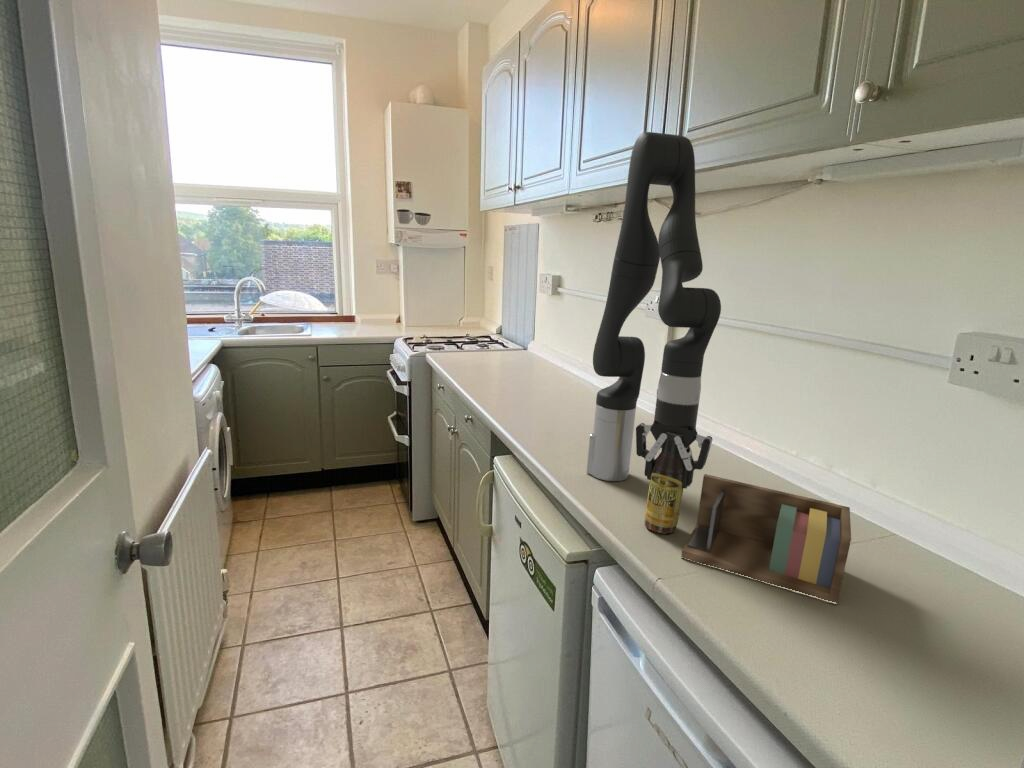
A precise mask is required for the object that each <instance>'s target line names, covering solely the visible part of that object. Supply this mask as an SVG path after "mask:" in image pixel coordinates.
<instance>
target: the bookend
mask: <svg viewBox="0 0 1024 768" xmlns="http://www.w3.org/2000/svg"><path fill="white" fill-rule="evenodd" d="M724 496H725V490H721V492H720V494H719V496H718V498H717V500H716V502H715V504H714V506H713V509H712V515H711V522H710V528H707V527H703V526H698V527H697V529H696V531H695V533H694V535H693V537H692V539H691V540H690V542H689V544H688V547H691V548H694V549H698V550H701V551H705V552H708V553H710V551H711V549H712V546H713V544H714V542H715V540H716V538H717V535H718V533H719V528H720V522H721V515H722V509H723V502H724Z"/></svg>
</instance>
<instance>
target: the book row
mask: <svg viewBox="0 0 1024 768" xmlns="http://www.w3.org/2000/svg"><path fill="white" fill-rule="evenodd" d="M796 510H797V507H792V506H788V505H784V504H782V506H781V510H780V514H779V518H778V522H777V527H776V533H775V539H774V544H773V550H772V555H771V561H770V566H769V571H773V572H776V573H780V574H783V575H786V576H790V577H793V578H797V579H800V580H804V581H807V582H810V583H814V584H817V585H821V586H824V587H827V588H830V586H831V581H832V577H833V572H834V567H835V562H836V557H837V553H838V548H839V543H840V519H835V518H831V517H827V512H825V511H821V510H817V509H812V508H810V512H809V514H805V513H801V512H797V511H796Z"/></svg>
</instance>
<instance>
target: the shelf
mask: <svg viewBox="0 0 1024 768" xmlns="http://www.w3.org/2000/svg"><path fill="white" fill-rule="evenodd" d="M721 490H725V496H724V502H723V509H722V515H721V522H720V528H719V533H718V535H717V538H716V540H715V542H714V544H713V546H712V549H711V551H710V553H708V552H705V551H701V550H698V549H694V548H691V547H688V544H689V542H690V540H691V539H692V537H693V535H694V533H695V531H696V529H697V527H698V526H703V527H707V528H710V522H711V515H712V509H713V506H714V504H715V502H716V500H717V498H718V496H719V494H720V492H721ZM700 491H701V492H700V499H699V500H700V501H699V506H698V513H697V519H696V524H695V527H694V529H693V530H692V532H691V534H690V536H689V538H688V540H687V541H686V543H685V544H684V547H683V549H682V550H681V556H680V557H683V558H686V559H690V560H692V561H695V562H699V563H702V564H706V565H710V566H714V567H717V568H721V569H724V570H728V571H730V572H734V573H738V574H741V575H744V576H748V577H751V578H753V579H757V580H760V581H764V582H767V583H770V584H774V585H777V586H781V587H785V588H788V589H792V590H795V591H799V592H802V593H805V594H808V595H812V596H816V597H818V598H821V599H824V600H828V601H832V602H836V603H837V604H838V602H839V597H840V592H841V589H842V588H841V587H842V583H843V579H844V574H845V568H846V564H847V559H848V555H849V551H850V546H851V541H852V527H851V526H852V525H851V507H849V506H846V505H841V504H837V503H833V502H832V503H831V502H827V501H825V500H820V499H815V498H811V497H806V496H803V495H798V494H794V493H789V492H785V491H780V490H777V489H776V490H775V489H772V488H768V487H761V486H759V485H753V484H750V483H745V482H741V481H736V480H734V479H728V478H723V477H719V476H715V475H711V474H707V473H705V474H704V475H703V479H702V485H701V490H700ZM782 504H784V505H788V506H792V507H797V510H796V511H797V512H801V513H805V514H809V512H810V508H812V509H817V510H821V511H825V512H827V517H831V518H835V519H840V543H839V548H838V553H837V557H836V562H835V567H834V572H833V577H832V581H831V586H830V588H827V587H824V586H821V585H817V584H814V583H810V582H807V581H804V580H800V579H797V578H793V577H790V576H786V575H783V574H780V573H776V572H773V571H769V566H770V561H771V555H772V550H773V544H774V539H775V533H776V527H777V522H778V518H779V514H780V510H781V506H782ZM692 561H691V562H692ZM695 562H694V563H695ZM702 564H701V565H702Z"/></svg>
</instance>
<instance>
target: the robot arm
mask: <svg viewBox="0 0 1024 768" xmlns="http://www.w3.org/2000/svg"><path fill="white" fill-rule="evenodd" d="M695 159H696V158H695V150H694V147H693V144H692V142H691V140H690V138H688V137H686V136H684V135H678V134H669V133H663V132H661V133H660V132H653V131H651V132H650V131H644V132H642V133H641V134H639V135H638V137H637V138H636V140H635V142H634V144H633V147H632V151H631V155H630V160H629V166H628V167H629V168H628V175H627V184H626V193H625V200H624V207H623V214H622V215H623V216H622V221H621V226H620V230H619V235H618V239H617V245H616V249H615V254H614V258H613V261H612V270H611V275H610V280H609V286H608V291H607V298H606V303H605V307H604V310H603V315H602V319H601V322H600V325H599V330H598V332H597V335H596V340H595V343H594V347H593V352H592V353H593V354H592V366H593V371H594V372H595V374H596V375H597V376H600V377H603V378H604V377H607V378H608V377H609V378H618V379H617V380H616V381H615V382H614V383H612V384H611V385H609V386H607V387H604V388H602V389H599V391H598V392H597V393H596V398H595V399H596V401H595V409H594V410H595V411H594V419H593V420H594V422H593V431H592V433H591V434H590V435H589V441H588V453H587V454H588V455H587V464H586V474H589V475H591V476H592V477H594V478H595V479H596V478H597V479H598V480H603V481H606V482H607V481H608V482H622V481H625V480H627V479H628V478H629V475H630V474H629V473H630V466H631V465H630V464H631V457H632V456H631V455H632V449H633V448H632V447H633V439H634V431H635V442H636V443H635V444H636V445H635V447H636V448H635V449H636V455H637V456H638V457H642V458H643V459H644V460H645V466H644V476H645V477H646V480H648V481H650V480H651V474H652V470H653V466H654V461H655V460H656V458H655V457H656V456H657V454H658V453H659V452H660V450H662V449H663V447H664V442H665V440H666V438H667V434H666V432H671V433H675V434H679V435H682V437H681V436H676V437H675V438H674V440H675V443H676V445H677V447H678V450H679V453H680V456H681V458H682V460H683V462H684V464H685V467H686V469H685V470H684V476H683V484H682V488H683V489H687V488H688V487H691V484H692V483H693V480H694V472H695V470H702V469H704V468H705V467H704V466H705V465H706V463H707V459H708V456H709V453H710V449H711V446H712V444H713V443H712V442H713V437H712V436H710V435H707V436H704V435H702V434H698V431H697V420H698V413H699V404H700V401H701V400H700V398H701V391H702V373H703V364H704V357H705V353H706V350H707V348H708V346H709V343H710V341H711V338H712V336H713V333H714V331H715V329H716V328H717V327H716V326H717V325H718V322H719V320H720V316H721V312H722V303H721V299H720V297H719V294H718V293H717V292H716V291H715V290H714V289H712V288H706V287H686V286H683V285H684V284H683V283H687V282H690V281H693V280H695V279H697V278H698V277H699V276H700V275H701V274H702V272H703V259H702V253H701V248H700V243H699V237H698V232H697V223H696V222H697V221H696V160H695ZM650 185H656V186H667V187H670V188H671V191H672V195H673V196H672V197H673V198H672V199H673V200H672V204H671V207H670V209H669V210H668V213H667V214H666V217H665V218H664V220H663V222H662V224H661V228H660V230H659V233H658V238H657V234H656V232H655V230H654V227H653V224H652V222H651V219H650V215H649V214H650V213H649V208H648V206H649V205H648V204H649V201H648V200H649V199H648V197H649V189H650ZM659 263H660V264H661V270H662V272H661V274H662V275H661V286H660V292H659V293H660V294H659V297H658V298H659V299H658V307H657V311H658V315H659V317H660V320H661V322H662V323H663V324H664V325H666V326H668V327H671V328H687V329H688V328H689V329H688V331H687V332H686V334H685V335H684V336H683V337H680V338H676V339H671V340H669V341H667V342H666V344H665V345H664V348H663V353H662V363H661V370H660V371H661V372H660V376H659V379H658V383H657V389H656V402H655V411H654V417H653V423H652V424H646V423H644V422H642V423H639V424H638V425H637V426H636V428H635V420H636V419H635V418H636V412H637V403H638V399H639V396H640V391H641V384H642V380H643V372H644V368H645V360H646V350H645V345H644V343H643V341H642V339H641V338H639V337H637V336H625V335H624V336H622V335H621V336H620V334H621V330H622V328H623V326H624V323H625V322H626V320H627V319H628V317H629V316H630V314H632V312H633V311H634V310H635V309H636V307H637V306H639V304H640V303H642V301H643V300H645V298H646V296H647V295H649V293H650V291H651V290H652V288H653V286H654V284H655V280H656V277H657V272H658V268H659ZM634 428H635V430H634ZM649 433H651V434H652V437H653V438H654V440H655V442H654V444H653V445H652V447H650V450H649V449H647V436H648V435H649ZM695 441H696V442H697V447H698V448H699V449H700V451H699V455H698V457H697V460H695V458H694V457H693V450H692V448H691V445H692V444H693V443H695Z"/></svg>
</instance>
